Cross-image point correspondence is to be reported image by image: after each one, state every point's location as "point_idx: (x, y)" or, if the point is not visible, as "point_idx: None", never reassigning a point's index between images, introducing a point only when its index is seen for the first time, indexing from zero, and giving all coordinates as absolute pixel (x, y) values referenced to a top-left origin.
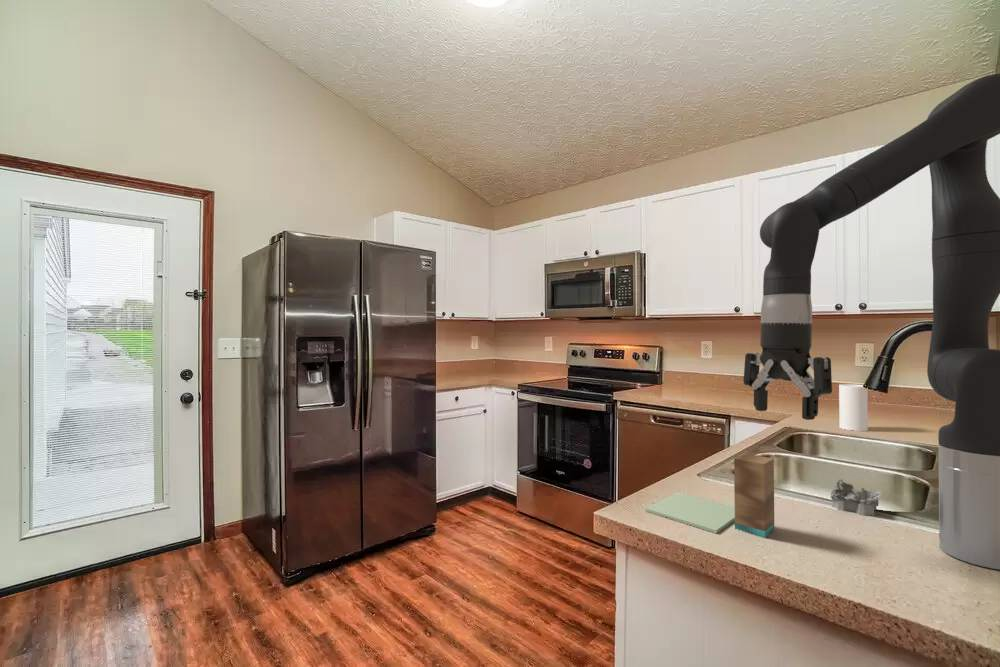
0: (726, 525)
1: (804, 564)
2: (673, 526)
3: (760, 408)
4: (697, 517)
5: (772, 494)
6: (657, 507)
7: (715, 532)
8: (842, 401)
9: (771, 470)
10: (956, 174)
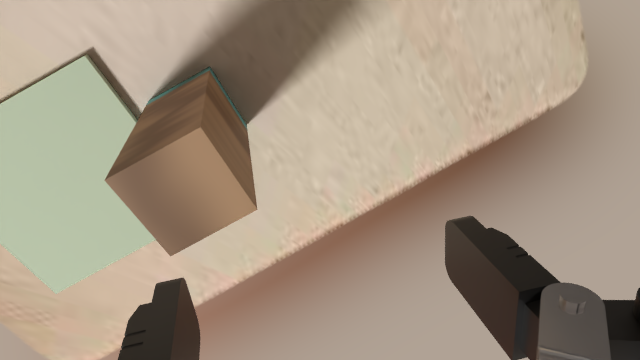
0: None
1: (359, 136)
2: (153, 268)
3: (198, 330)
4: (127, 211)
5: (214, 103)
6: (51, 267)
7: None
8: None
9: (217, 135)
10: None
